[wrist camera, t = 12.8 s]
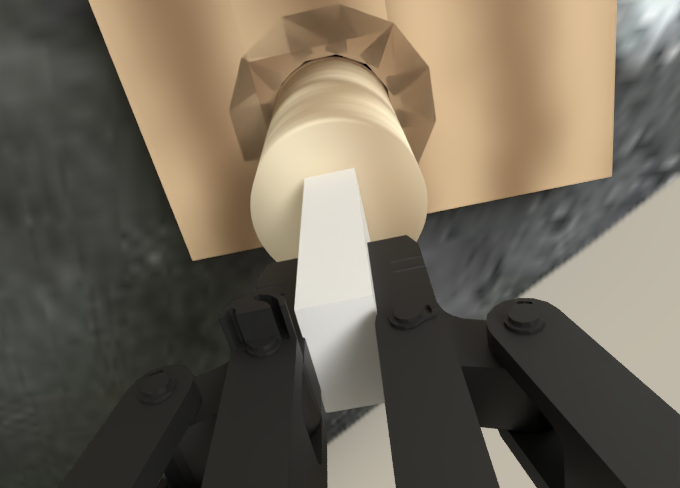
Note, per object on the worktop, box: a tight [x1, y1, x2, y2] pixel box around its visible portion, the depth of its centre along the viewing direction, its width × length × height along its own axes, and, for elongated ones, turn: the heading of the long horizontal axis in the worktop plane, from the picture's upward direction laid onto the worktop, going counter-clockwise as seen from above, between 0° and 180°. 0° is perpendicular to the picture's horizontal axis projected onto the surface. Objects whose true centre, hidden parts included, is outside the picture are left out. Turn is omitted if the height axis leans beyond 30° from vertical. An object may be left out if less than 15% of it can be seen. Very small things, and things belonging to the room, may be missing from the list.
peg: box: [250, 56, 428, 262], centre depth 22 cm, size 6×6×13 cm
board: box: [89, 0, 617, 261], centre depth 26 cm, size 22×16×3 cm
